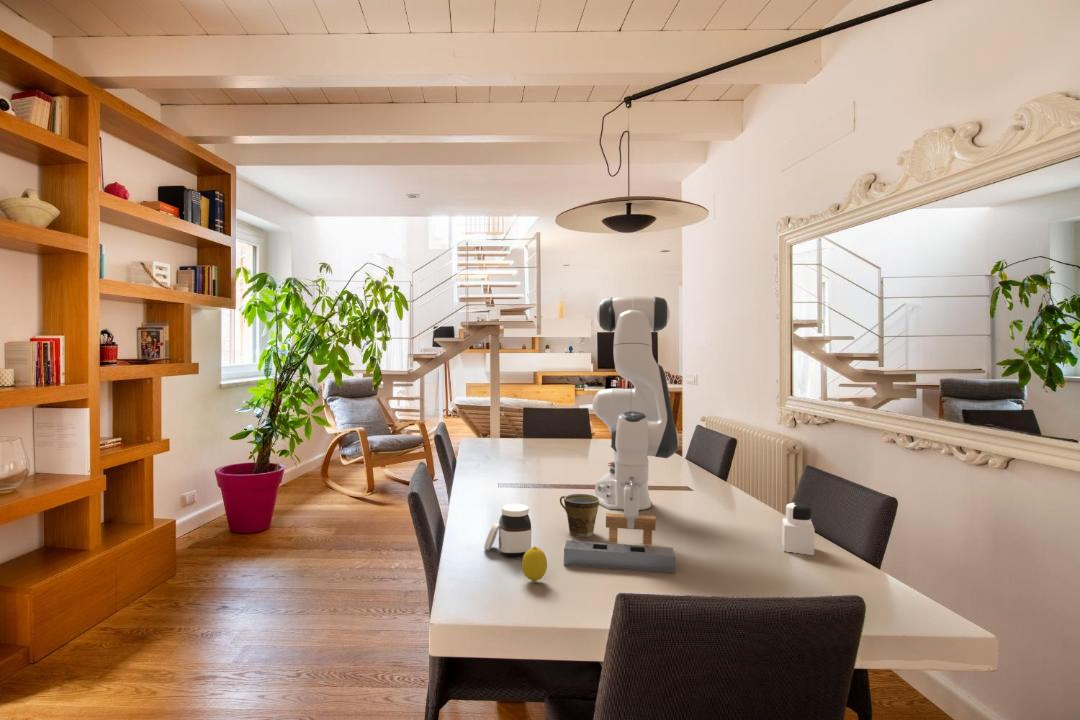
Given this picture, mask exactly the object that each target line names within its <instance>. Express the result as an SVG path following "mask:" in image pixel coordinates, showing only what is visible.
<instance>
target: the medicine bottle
mask: <svg viewBox="0 0 1080 720" xmlns="http://www.w3.org/2000/svg"><path fill="white" fill-rule="evenodd" d="M781 524H782V525H781V526H782V528H781V529H782V531H781V533H782V534H781V544H782V548H783V552H784V551H786V552H785V553H789V552H793V553H792V554H797V553H799V554H798V555H805V554H806V556H815V539H816V538H815V537H816V535H815V533H816V532H815V531H816V529H815V527H814V525H813V522H812V508H811V506H809V505H808V504H806V503H801V502H791V503H787V504H786V505H785V517H783V518H782V523H781Z"/></svg>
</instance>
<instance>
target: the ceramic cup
mask: <svg viewBox="0 0 1080 720" xmlns="http://www.w3.org/2000/svg"><path fill="white" fill-rule="evenodd" d="M562 501H563V502H564V503H563V502H562ZM559 503H560V505H561V507H562V508H563V509H564V511H565V512H566V517H567V523H568V531H569V532H568V533H569V534H570V536H573V537H576V538H588V537H592V536H593V534H594V530H595V524H596V519H597V516H598V515H597V514H598V511H599V506H600V504H599V498H598V497H596V496H593V495H590V494H586V493H573V494H567V495H562V496H560V498H559Z"/></svg>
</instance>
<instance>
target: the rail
mask: <svg viewBox="0 0 1080 720" xmlns="http://www.w3.org/2000/svg"><path fill="white" fill-rule="evenodd" d="M675 558H676V556H675V551H674V547H671V546H669V547H668V546H655V545H643V544H642V545H641V544H640V545H638V544H625V543H614V542H599V541H597V542H596V541H594V542H593V541H582V540H566V541H565V545H564V548H563V566H569V567H570V566H572V567H584V568H597V569H613V570H624V571H635V572H636V571H637V572H639V571H640V572H647V573H649V572H652V573H661V574H663V573H665V574H675V571H676V570H675V568H676V567H675V566H676V565H675V564H676V563H675V561H676V559H675Z"/></svg>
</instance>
